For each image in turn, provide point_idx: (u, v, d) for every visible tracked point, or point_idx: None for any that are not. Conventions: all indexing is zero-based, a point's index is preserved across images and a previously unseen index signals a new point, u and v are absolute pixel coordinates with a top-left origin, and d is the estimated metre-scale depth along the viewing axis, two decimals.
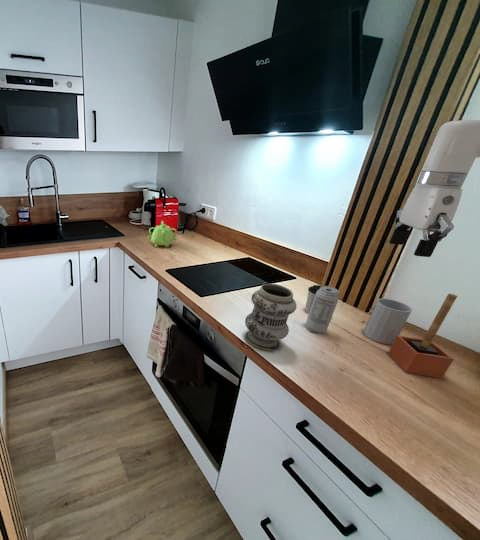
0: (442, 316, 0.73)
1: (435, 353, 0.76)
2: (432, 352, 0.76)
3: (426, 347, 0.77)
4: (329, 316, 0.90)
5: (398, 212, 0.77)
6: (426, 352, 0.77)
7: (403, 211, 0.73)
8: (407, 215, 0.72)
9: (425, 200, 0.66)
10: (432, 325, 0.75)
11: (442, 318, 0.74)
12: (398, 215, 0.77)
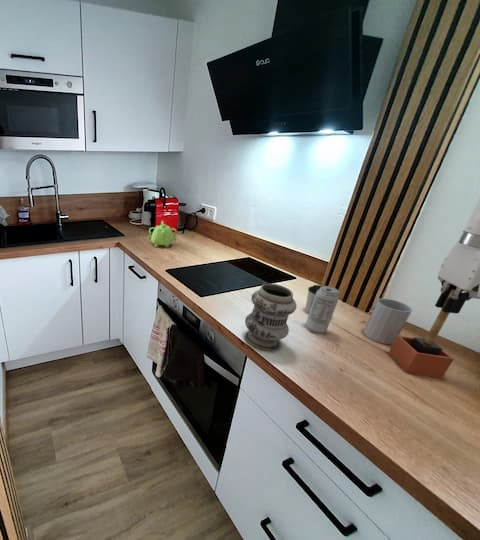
0: (446, 312, 0.73)
1: (439, 349, 0.76)
2: (436, 348, 0.76)
3: (430, 343, 0.77)
4: (329, 316, 0.90)
5: (440, 277, 0.75)
6: (430, 348, 0.76)
7: (443, 267, 0.73)
8: (447, 272, 0.71)
9: (468, 261, 0.66)
10: (436, 321, 0.75)
11: (446, 314, 0.73)
12: (441, 279, 0.75)
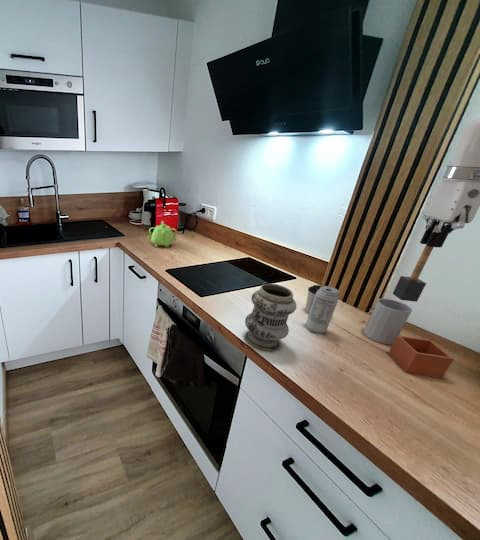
0: (430, 247, 0.77)
1: (424, 284, 0.80)
2: (421, 283, 0.80)
3: (415, 279, 0.81)
4: (329, 316, 0.90)
5: (425, 216, 0.80)
6: (415, 284, 0.81)
7: (428, 204, 0.78)
8: (432, 208, 0.76)
9: (451, 194, 0.71)
10: (421, 257, 0.79)
11: (430, 249, 0.78)
12: (426, 218, 0.79)
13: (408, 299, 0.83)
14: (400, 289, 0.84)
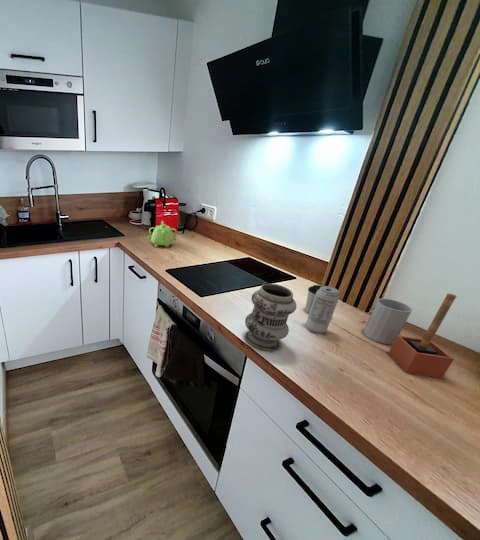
0: (441, 316, 0.73)
1: (434, 353, 0.76)
2: (431, 352, 0.76)
3: (425, 347, 0.77)
4: (329, 316, 0.90)
5: None
6: (425, 352, 0.77)
7: None
8: None
9: None
10: (431, 325, 0.75)
11: (441, 318, 0.74)
12: None
13: None
14: None
